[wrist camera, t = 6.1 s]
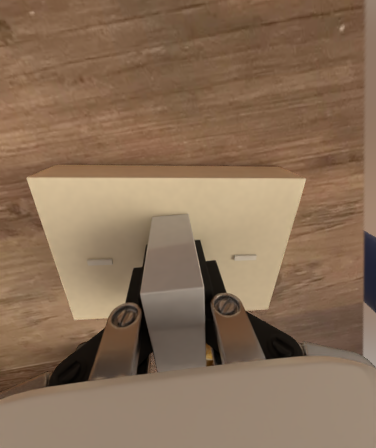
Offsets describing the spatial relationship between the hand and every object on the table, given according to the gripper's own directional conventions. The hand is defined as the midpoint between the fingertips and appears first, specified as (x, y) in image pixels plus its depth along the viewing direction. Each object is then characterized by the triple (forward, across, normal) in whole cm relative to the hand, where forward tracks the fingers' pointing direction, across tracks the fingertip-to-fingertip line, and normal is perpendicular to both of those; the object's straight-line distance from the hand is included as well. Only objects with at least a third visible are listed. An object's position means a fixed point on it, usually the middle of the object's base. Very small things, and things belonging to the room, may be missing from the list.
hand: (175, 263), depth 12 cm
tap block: (+3, 0, 0) cm, 3 cm away
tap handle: (0, 0, 0) cm, 0 cm away
